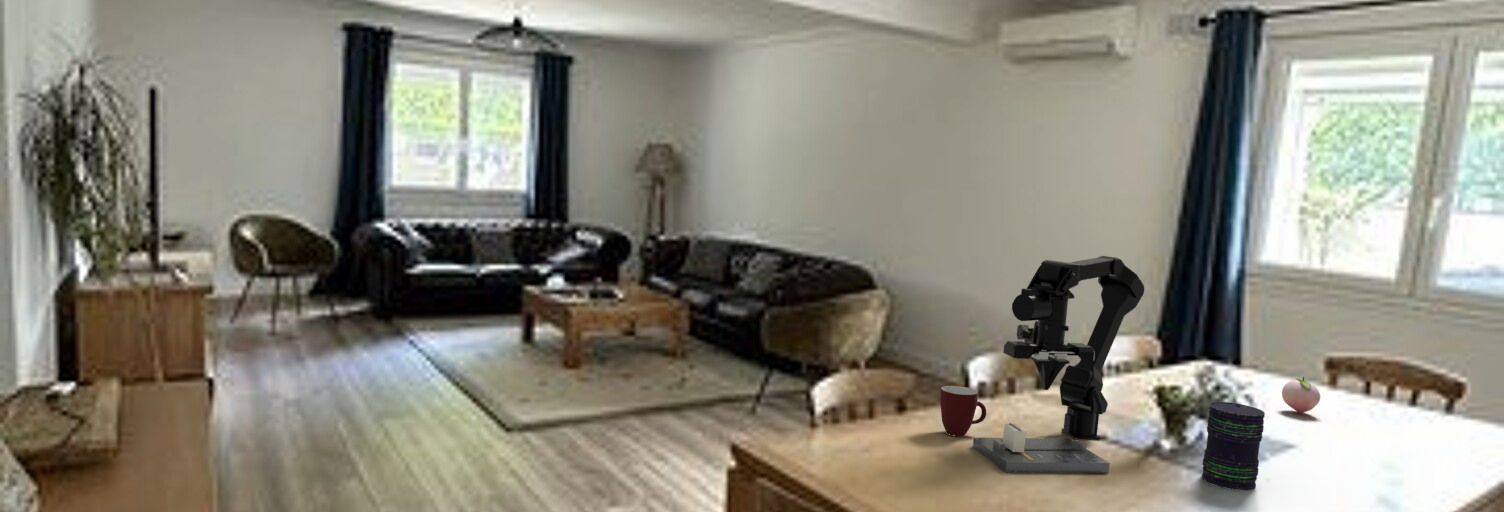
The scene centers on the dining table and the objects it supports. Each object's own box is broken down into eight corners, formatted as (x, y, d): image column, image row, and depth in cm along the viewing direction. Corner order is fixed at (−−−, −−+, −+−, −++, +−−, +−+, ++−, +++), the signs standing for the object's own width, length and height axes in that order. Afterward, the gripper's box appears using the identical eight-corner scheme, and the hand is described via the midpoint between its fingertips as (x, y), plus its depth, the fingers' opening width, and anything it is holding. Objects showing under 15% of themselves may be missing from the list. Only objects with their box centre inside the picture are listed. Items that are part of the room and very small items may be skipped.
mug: (973, 428, 209) (977, 385, 208) (991, 439, 201) (995, 394, 200) (931, 429, 206) (934, 385, 205) (947, 440, 199) (951, 395, 198)
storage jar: (1254, 494, 175) (1264, 418, 174) (1198, 482, 180) (1206, 408, 179) (1257, 481, 184) (1266, 408, 182) (1203, 469, 189) (1212, 399, 187)
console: (1068, 447, 199) (1069, 431, 198) (1108, 472, 183) (1110, 455, 183) (972, 446, 195) (974, 430, 194) (1005, 472, 179) (1007, 454, 179)
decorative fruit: (1273, 407, 248) (1278, 371, 247) (1306, 410, 247) (1310, 374, 246) (1289, 416, 239) (1293, 379, 238) (1322, 419, 238) (1327, 382, 237)
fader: (1013, 444, 190) (1015, 423, 190) (1024, 452, 185) (1026, 430, 185) (1002, 444, 190) (1004, 423, 189) (1012, 451, 185) (1015, 429, 185)
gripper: (1073, 314, 207) (1066, 381, 209) (995, 311, 204) (989, 379, 206) (1099, 323, 196) (1092, 394, 198) (1018, 320, 193) (1011, 392, 195)
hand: (1045, 389), depth 199 cm, fingers closed
